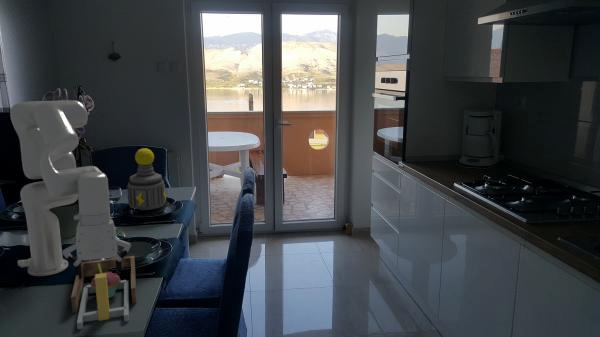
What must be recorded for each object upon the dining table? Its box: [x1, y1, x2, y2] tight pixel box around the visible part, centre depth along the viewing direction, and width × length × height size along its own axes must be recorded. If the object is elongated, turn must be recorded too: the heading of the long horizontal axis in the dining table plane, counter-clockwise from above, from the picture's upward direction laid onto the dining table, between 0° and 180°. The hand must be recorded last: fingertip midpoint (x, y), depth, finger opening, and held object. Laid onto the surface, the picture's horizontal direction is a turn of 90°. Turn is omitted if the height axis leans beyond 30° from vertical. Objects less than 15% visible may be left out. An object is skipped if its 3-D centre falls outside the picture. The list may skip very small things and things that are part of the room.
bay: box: [70, 255, 137, 314], centre depth 147 cm, size 18×25×5 cm
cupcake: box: [90, 262, 121, 299], centre depth 142 cm, size 9×8×12 cm
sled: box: [76, 273, 130, 330], centre depth 136 cm, size 13×22×13 cm, turn 20°
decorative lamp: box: [126, 147, 167, 211], centre depth 232 cm, size 19×19×30 cm
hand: (99, 274), depth 128 cm, fingers open, 9 cm apart
